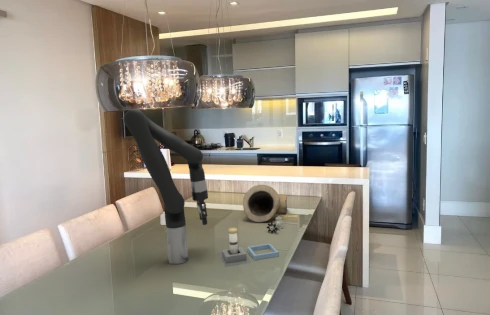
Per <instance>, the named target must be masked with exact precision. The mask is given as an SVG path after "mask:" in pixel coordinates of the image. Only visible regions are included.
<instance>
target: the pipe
mask: <svg viewBox="0 0 490 315" xmlns="http://www.w3.org/2000/svg"><path fill="white" fill-rule="evenodd" d="M287 202H288V195H286V194H279V193H278V192H277V190H275V189H274V187H272V186H270V185H267V184H257V185H253V186H252V187H250V188H249V189H248V191H246V192H245V193H244V195H243V199H242V207H243V212H244V214H245V216H246V218H248V219H249V220H250V221H252V222H254V223H264V222H265V223H266V222H267V221H269V220H271V219H272V218H273V217H274V216H275V214H287V213H288V205H287Z"/></svg>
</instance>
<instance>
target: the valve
mask: <svg viewBox="0 0 490 315" xmlns="http://www.w3.org/2000/svg"><path fill="white" fill-rule="evenodd" d="M283 225H284V224H283V217H282V216H276V217H275V222H273V221H271V222H268V223H267V226H266V229H268V230H267V232H268V233H269V232H270V234H272V235H273V234H274V233H275V234H276V233H277V230H282V229H283Z"/></svg>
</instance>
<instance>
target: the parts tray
mask: <svg viewBox="0 0 490 315" xmlns="http://www.w3.org/2000/svg"><path fill="white" fill-rule="evenodd" d="M261 250H269V251H270V252H265V253H264V252H263V253H259V254H256V253H255V251H261ZM246 251H247V252H248V254H249V255H250V257H251V258H252V259H253V260H254V261H258V260H265V259H271V258H276V257H279V256H280V254H279V253H280V252H279V251H278V250H277V249H276V248H275V247H274V246H273V245H272V244H271V243H265V244H264V243H263V244H257V245H251V246H247V247H246Z"/></svg>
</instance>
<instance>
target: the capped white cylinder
mask: <svg viewBox="0 0 490 315" xmlns="http://www.w3.org/2000/svg"><path fill="white" fill-rule="evenodd" d="M227 232H228V241H229V242H228V244H229V245H228V246H229V249H230V255H231V254H238V247H239V245H238V244H239V242H238V228H237V227H229V228H228V230H227Z"/></svg>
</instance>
